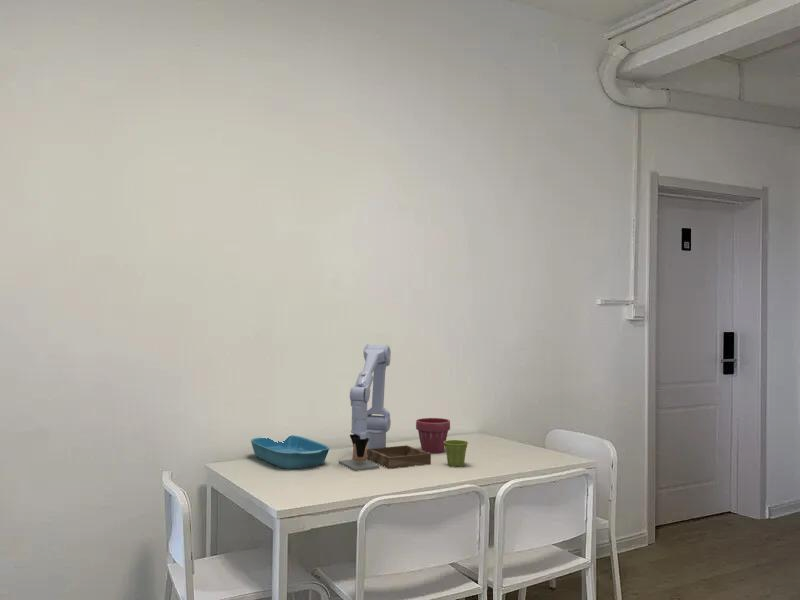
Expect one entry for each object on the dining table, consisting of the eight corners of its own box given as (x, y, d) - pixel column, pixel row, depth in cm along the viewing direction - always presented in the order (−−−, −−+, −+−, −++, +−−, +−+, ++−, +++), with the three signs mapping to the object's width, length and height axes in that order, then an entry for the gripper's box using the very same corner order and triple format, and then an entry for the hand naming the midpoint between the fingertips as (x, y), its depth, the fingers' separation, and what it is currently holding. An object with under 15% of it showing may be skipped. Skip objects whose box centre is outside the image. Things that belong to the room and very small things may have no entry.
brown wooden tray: (366, 459, 282) (367, 449, 282) (406, 455, 291) (407, 445, 291) (389, 468, 266) (389, 457, 266) (430, 464, 275) (430, 453, 275)
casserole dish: (339, 466, 270) (339, 447, 270) (284, 474, 257) (285, 454, 257) (292, 449, 299) (292, 432, 299) (241, 455, 286) (242, 437, 286)
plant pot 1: (409, 448, 304) (410, 418, 304) (439, 446, 310) (439, 416, 310) (425, 455, 291) (425, 423, 291) (455, 453, 297) (456, 421, 297)
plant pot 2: (439, 465, 273) (439, 442, 273) (449, 461, 281) (449, 438, 281) (462, 468, 269) (462, 445, 269) (471, 464, 277) (472, 441, 277)
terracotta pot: (351, 458, 272) (352, 442, 272) (364, 458, 274) (365, 442, 274) (353, 461, 267) (354, 444, 267) (367, 461, 269) (368, 445, 269)
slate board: (338, 463, 274) (338, 460, 274) (362, 461, 279) (362, 458, 279) (354, 471, 262) (354, 468, 262) (379, 468, 267) (379, 465, 267)
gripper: (374, 421, 264) (373, 458, 264) (365, 415, 278) (365, 450, 278) (355, 422, 263) (354, 459, 263) (347, 415, 277) (347, 451, 277)
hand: (358, 455), depth 270 cm, fingers closed on terracotta pot, 5 cm apart
